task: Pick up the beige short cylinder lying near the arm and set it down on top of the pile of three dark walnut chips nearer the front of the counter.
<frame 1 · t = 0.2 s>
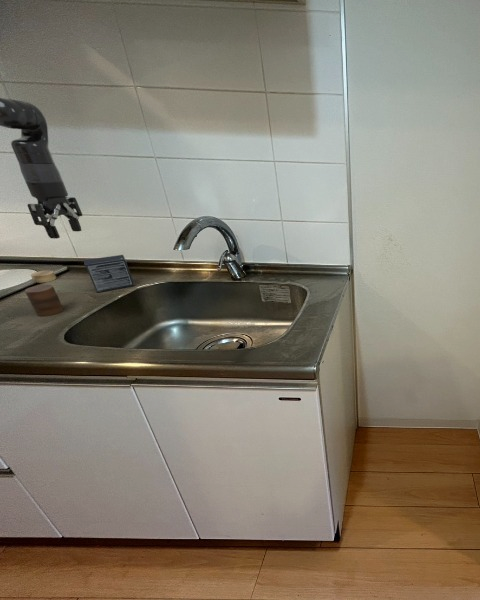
hand: (66, 234, 96), 20 cm above the counter, tool pointing down, fingers open, 8 cm apart
beige short cylinder: (45, 279, 111), on the counter
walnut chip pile: (50, 311, 93), on the counter
small box: (115, 287, 110), on the counter
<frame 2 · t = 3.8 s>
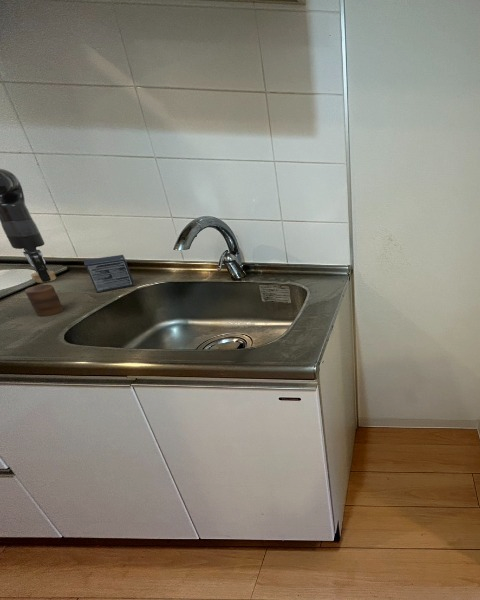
hand: (44, 278, 111), 1 cm above the counter, tool pointing down, fingers closed on beige short cylinder, 5 cm apart
beige short cylinder: (45, 279, 111), on the counter, touching gripper
everything else where it was.
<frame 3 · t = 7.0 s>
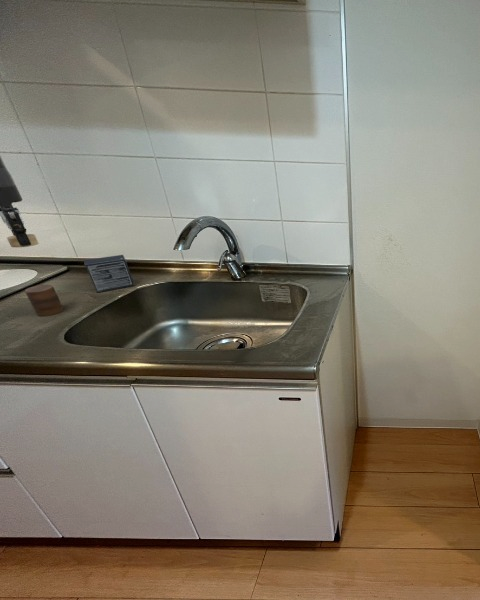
hand: (24, 243, 93), 18 cm above the counter, tool pointing down, fingers closed on beige short cylinder, 5 cm apart
beige short cylinder: (25, 244, 93), point 18 cm above the counter, touching gripper
everything else where it was.
when the fingers open (8 cm above the counter, at t = 10.6 s): beige short cylinder stays where it is, resting on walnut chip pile.
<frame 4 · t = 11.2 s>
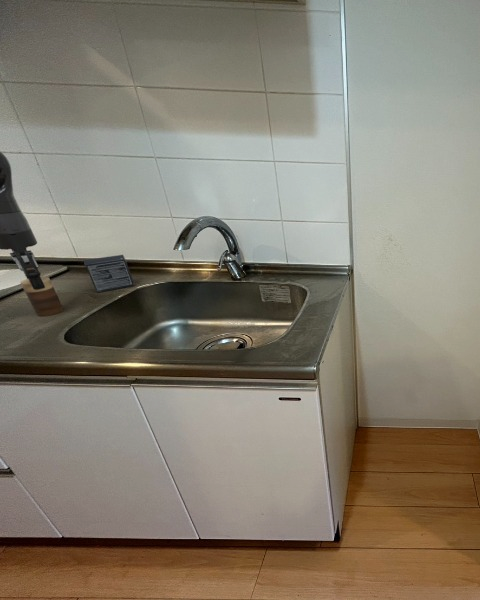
hand: (36, 284, 89), 9 cm above the counter, tool pointing down, fingers open, 8 cm apart
beige short cylinder: (39, 288, 89), point 8 cm above the counter, touching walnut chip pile
everything else where it was.
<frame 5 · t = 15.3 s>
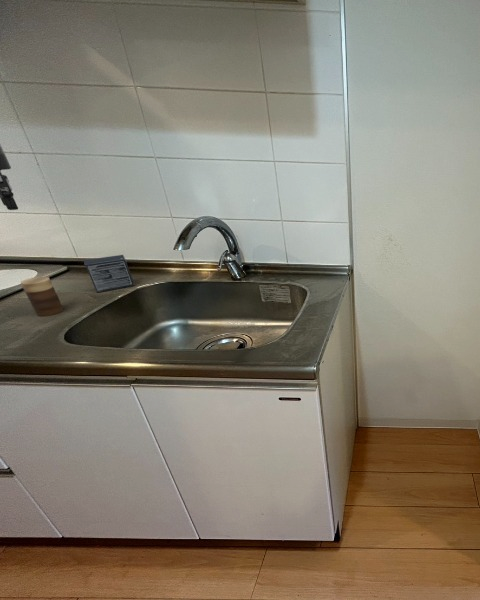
hand: (11, 207, 99), 26 cm above the counter, tool pointing down, fingers open, 8 cm apart
nothing on the counter moved.
at the end: beige short cylinder 0.1 cm off-centre on the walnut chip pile, point 7.8 cm above the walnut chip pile's base; beige short cylinder tilted 0°; the gripper is holding nothing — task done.
